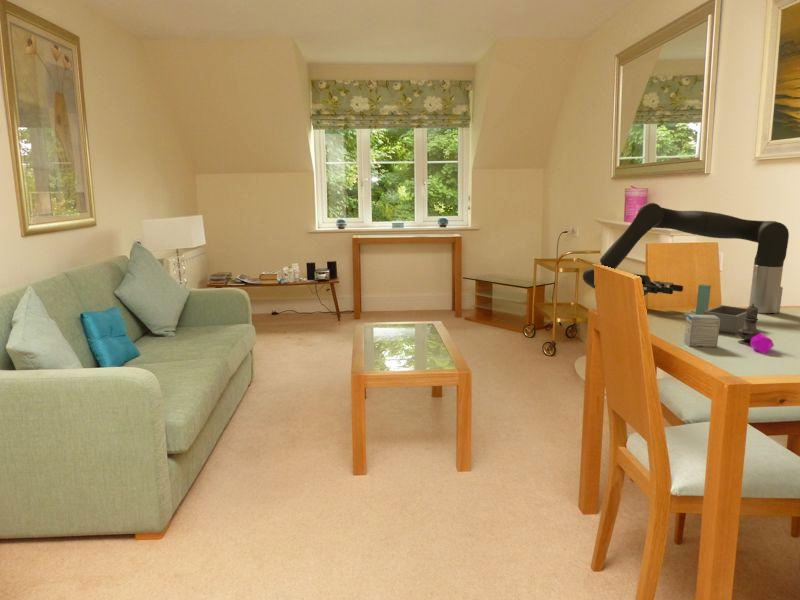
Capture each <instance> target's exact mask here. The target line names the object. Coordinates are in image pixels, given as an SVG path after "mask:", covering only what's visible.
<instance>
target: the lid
mask: <svg viewBox="0 0 800 600" xmlns="http://www.w3.org/2000/svg"><path fill="white" fill-rule="evenodd" d="M697 286H698V287H697V295H696V296H697V297H696V306H695V310H690V311H689V312H686V313H683V315H685V316H684V317H687V315H703V313H704V311H706V310H709V309H710V308H709V307H710V297H711V288H712V285H711V284H704V283H701V284H698V285H697ZM683 315H682V316H683Z"/></svg>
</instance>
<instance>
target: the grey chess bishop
mask: <svg viewBox="0 0 800 600" xmlns="http://www.w3.org/2000/svg"><path fill="white" fill-rule="evenodd" d="M746 309H747V311H746V317H745V318H744V319H745V325H744V327H743V329H739V330H738V331H739V334H738V335H739V336H740V338H741V339H740V340H738V341H737V343H738V344H740V345H745V346H751V344H750V342H751V339H752V337H754V336H756V335H758V334H759V333H762V332H761V331H759V330H758V329H757V322H758V321H759V319H758V314H759V313H758V309H757V308H756V307H755V306H754V304H752V306H750V307H749V306H748V307H747V308H746Z"/></svg>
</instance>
